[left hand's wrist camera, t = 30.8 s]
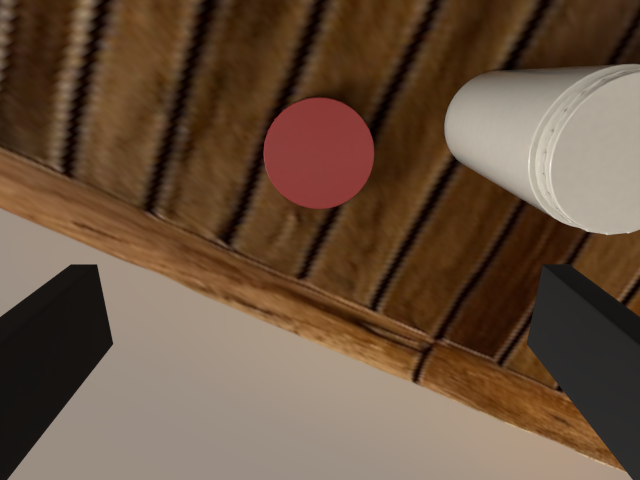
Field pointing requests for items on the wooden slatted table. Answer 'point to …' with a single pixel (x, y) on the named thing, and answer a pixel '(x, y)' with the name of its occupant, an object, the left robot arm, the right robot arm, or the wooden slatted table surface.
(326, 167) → the lid
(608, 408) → the left robot arm
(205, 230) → the wooden slatted table surface
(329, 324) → the wooden slatted table surface
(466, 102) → the jar
